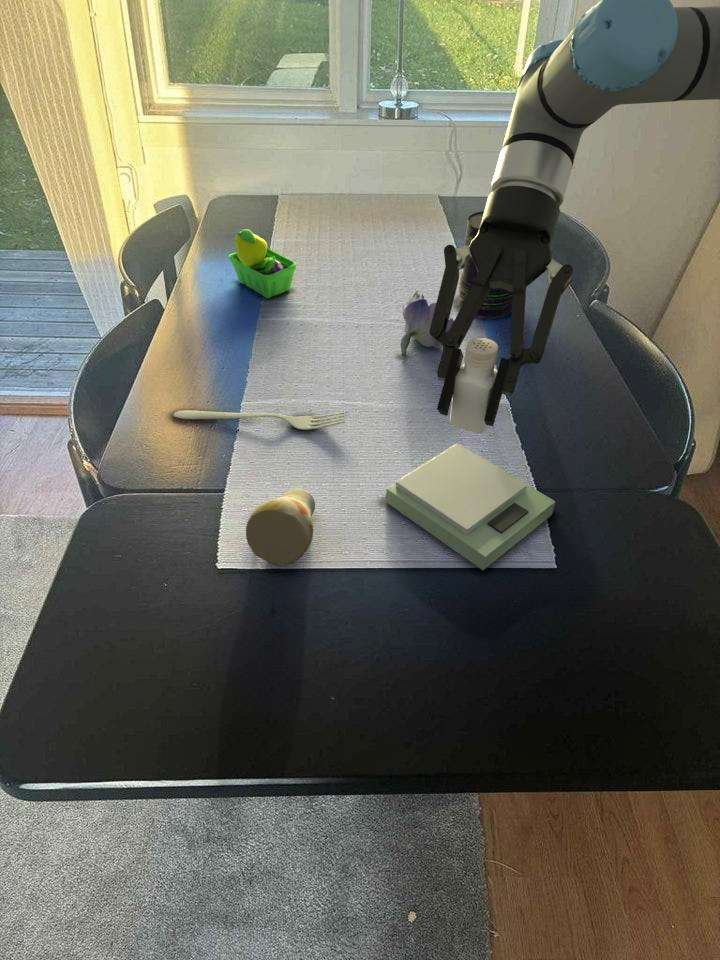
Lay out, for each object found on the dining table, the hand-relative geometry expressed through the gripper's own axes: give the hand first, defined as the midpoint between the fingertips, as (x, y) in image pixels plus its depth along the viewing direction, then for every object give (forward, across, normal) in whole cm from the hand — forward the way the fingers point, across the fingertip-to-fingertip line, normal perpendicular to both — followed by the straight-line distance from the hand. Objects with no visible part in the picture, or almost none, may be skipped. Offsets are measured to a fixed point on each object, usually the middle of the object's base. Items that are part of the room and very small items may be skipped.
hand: (465, 417), depth 71 cm
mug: (+17, +17, -5) cm, 25 cm away
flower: (-16, +16, -38) cm, 44 cm away
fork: (+4, +30, -18) cm, 35 cm away
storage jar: (-28, +10, -51) cm, 59 cm away
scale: (+8, -1, -14) cm, 16 cm away
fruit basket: (-22, +49, -44) cm, 70 cm away
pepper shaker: (0, 0, -5) cm, 5 cm away
